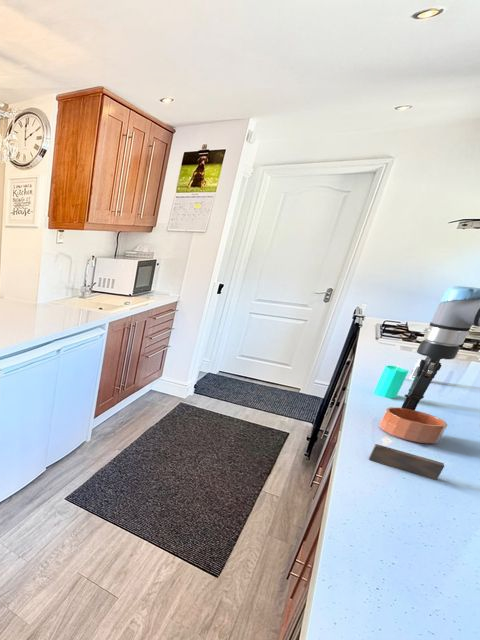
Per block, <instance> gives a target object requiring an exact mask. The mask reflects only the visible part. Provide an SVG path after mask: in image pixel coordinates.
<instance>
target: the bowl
mask: <svg viewBox="0 0 480 640" xmlns="http://www.w3.org/2000/svg"><path fill="white" fill-rule="evenodd" d="M378 426H379V428H380V429H381V430H383V432H385V433H387V434H389V435H391V436H393V437H396V438H398V439H401V440H405V441H407V442H408V441H409V442H412V443H419V444H437V443H439V442H440V440H441V438H442V436H443V434H444V433H445V431H446V429H447V428H448V423H447V422H446V421H445V420H443V419H441V418H440V417H437V416H435V415H433V414H432V415H431V414H429V413H426V412H422V411H419V410H416V409H415V410H411V409H405V408H401V407H397V406H396V407H393V406H392V407H387V408H386V409H385V411H384V413H383V414H382V417H381V419H380V422H379V423H378Z"/></svg>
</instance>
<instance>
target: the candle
mask: <svg viewBox="0 0 480 640" xmlns="http://www.w3.org/2000/svg"><path fill="white" fill-rule="evenodd" d="M399 366H400V364H398V365H397V366H395V365H391V364H390V365H385V366H384V368H383V370H382V373H381V375H380V377H379V379H378V382H377V384H376V386H375V387H374V390H373V395H376V396H379V397H381V398H387V399H396V398H397V396H398V394H399V392H400V390H401V388H402V386H403V384H404V382H405V380H406V377H407V375H408V373H409V369H405V368H402V367H399Z"/></svg>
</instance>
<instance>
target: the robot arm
mask: <svg viewBox="0 0 480 640" xmlns="http://www.w3.org/2000/svg"><path fill="white" fill-rule="evenodd" d="M438 303H439V304H438V306H437V307H436V310H435V312H434V315H433V317H432V319H431V321H430V323H429V326H428V328H426V327H425V328H424V329H423V332H424V335H423V339H424V340H421V341H420V343H419V345H418V347H417V349H416V353H417V354H418V355H421V356H424V357H425V358H424V359H425V360H421V361H420V363H419V365H420V366H419V368H418V370H417V374H416V377H415V379H414V380H412V383H411V386H410V387H409V389H408V391H407V394H406V393H405V394H404V397H405V399H404V401H403V403H402V405H401V407H400V408H405V409H411V410H415V411H416V410H417V407H418V405H419V403H420V401H421V400H422V399H424V398H425V393H426V392H427V390H428V388H429V386H430V385H431V383H432V381H433V380H434V379H435V377H436V375H437V374H438V371H440V370H441V368H442V363H441V362H440V361H441V360H454V359H455V358H456V356H457V355H458V353H459V351H460V350H461V347H460V346H461V345H463V344H464V342H465V340H466V338H467V337H468V335H469V332H470V330H471V327H473V326H475V327H480V287H474V286H473V287H472V286H461V285H459V286H458V285H457V286H456V285H455V286H451V287H449V288H447V290H446V291H445V293H444V295H443V296H442V298H441V300H440V301H439V302H438Z"/></svg>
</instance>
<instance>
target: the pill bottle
mask: <svg viewBox="0 0 480 640" xmlns="http://www.w3.org/2000/svg"><path fill="white" fill-rule="evenodd" d="M425 359H426V358H419V359H418V361H417V363H415V364H414V366H413V368H412V370H411V372H410V374H409V376H408V378H409V379H410V380H412V381H414V379H415V377H416V374H417V370H418V368H419V366H420V365H419V363H420V361H421V360H425Z"/></svg>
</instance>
